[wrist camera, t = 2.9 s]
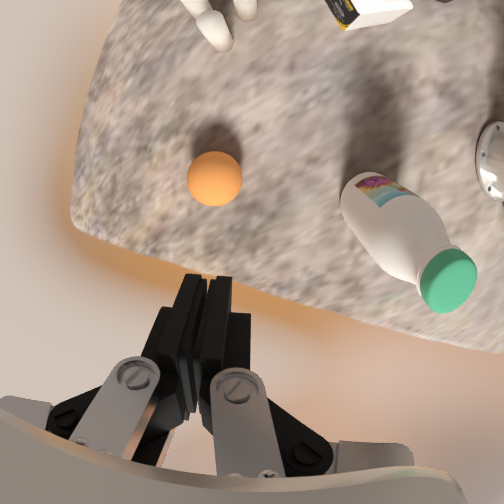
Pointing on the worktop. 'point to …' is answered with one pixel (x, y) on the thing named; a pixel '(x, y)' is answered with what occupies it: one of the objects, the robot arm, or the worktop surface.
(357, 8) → the medicine bottle
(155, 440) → the robot arm
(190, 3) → the pin
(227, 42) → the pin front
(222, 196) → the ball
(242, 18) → the pin
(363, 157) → the worktop surface
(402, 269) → the milk bottle
